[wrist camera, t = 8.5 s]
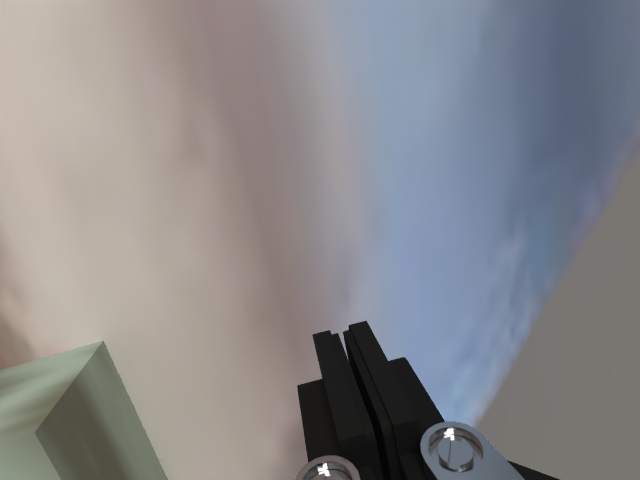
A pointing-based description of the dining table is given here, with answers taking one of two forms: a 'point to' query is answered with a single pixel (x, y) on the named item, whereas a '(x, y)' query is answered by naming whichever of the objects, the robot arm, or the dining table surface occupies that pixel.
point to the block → (72, 421)
